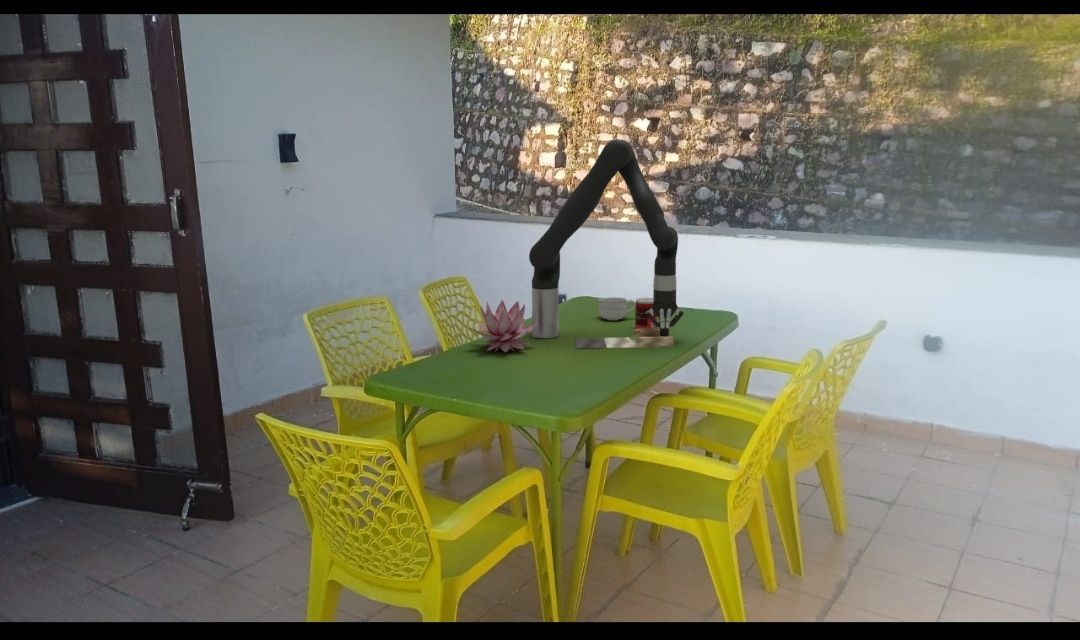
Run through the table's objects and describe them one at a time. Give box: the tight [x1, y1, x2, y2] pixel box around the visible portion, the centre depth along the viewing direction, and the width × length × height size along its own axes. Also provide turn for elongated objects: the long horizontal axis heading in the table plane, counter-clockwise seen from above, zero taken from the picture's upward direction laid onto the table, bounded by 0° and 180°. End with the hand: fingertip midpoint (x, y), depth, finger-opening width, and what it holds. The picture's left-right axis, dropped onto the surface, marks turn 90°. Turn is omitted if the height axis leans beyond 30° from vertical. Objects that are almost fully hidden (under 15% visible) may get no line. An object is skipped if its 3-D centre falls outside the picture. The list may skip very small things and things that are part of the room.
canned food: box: [634, 297, 658, 329], centre depth 289 cm, size 8×8×11 cm
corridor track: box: [574, 328, 675, 350], centre depth 272 cm, size 32×13×3 cm, turn 90°
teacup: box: [598, 296, 636, 321], centre depth 306 cm, size 14×11×8 cm
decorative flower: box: [470, 300, 537, 353], centre depth 265 cm, size 21×21×15 cm
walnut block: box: [639, 328, 659, 337], centre depth 271 cm, size 6×6×4 cm
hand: (664, 338), depth 272 cm, fingers closed
